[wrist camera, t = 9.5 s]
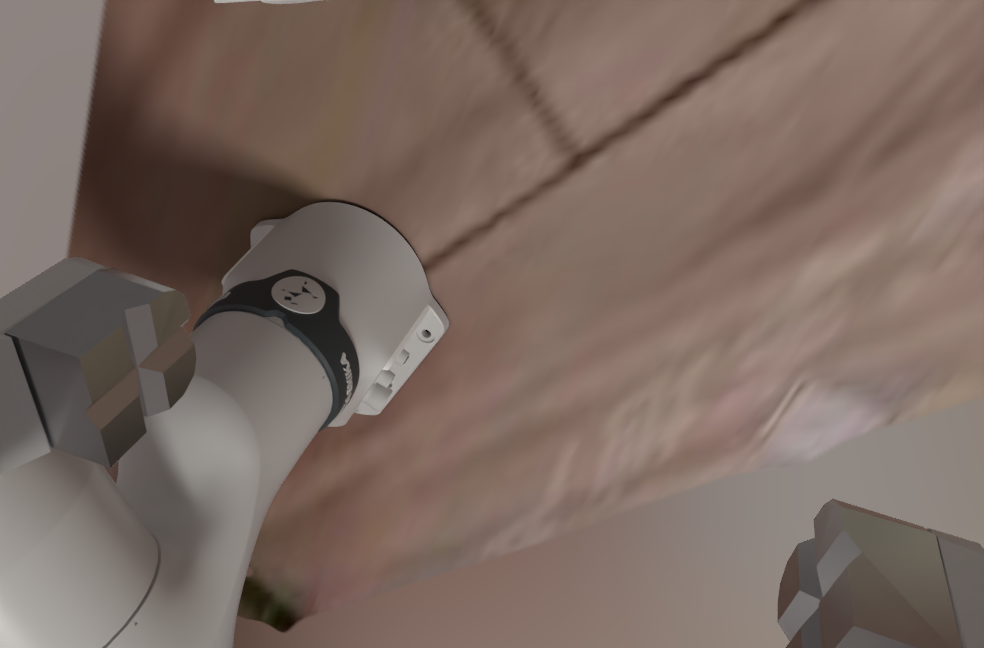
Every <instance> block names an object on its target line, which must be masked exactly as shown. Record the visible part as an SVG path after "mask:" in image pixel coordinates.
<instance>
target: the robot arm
mask: <svg viewBox="0 0 984 648" xmlns="http://www.w3.org/2000/svg"><path fill="white" fill-rule="evenodd" d="M250 240H251V249H250V250H249V251H248V252H247V253H246V254H245V255H244V256H243V257H242V258H241V259H240V260H239V261H238V262H237V263H236V264H235V265H234V266H233V267H232V268H231V269H230V270H229V271H228V272H227V273H226V275H225V276H224V278H223V279H222V285H223V295H222V296H220V297H219V298H217V299H216V300H215V301H214V302H213V303H212V304H211V305H210V306H209V307H208V308H207V309H206V311H205V312H204V314H203V315H202V316H201V317H200V318H199V319H198V321H197V323H196V324H195V326H194V329H193V332H192V333H191V334H189V335H188V334H187V333H186V331H185V330H184V329H183V326H184V324H185V323H186V322H187V321H188V320H189V318H190V312H189V307H188V303H187V298H186V296H185V295H183V294H182V293H180V292H179V291H177V290H175V289H172V288H169V287H166V286H164V285H161V284H158V283H155V282H152V281H149V280H146V279H143V278H141V277H138V276H135V275H132V274H129V273H126V272H123V271H120V270H117V269H115V268H109V267H106V266H103V265H100V264H98V263H95V262H92V261H89V260H86V259H84V258H81V257H76V258H67V259H63V260H62V261H60V262H59V263H57V264H55V265H54V266H52V267H51V268H49V269H47V270H46V271H44V272H42V273H41V274H39V275H38V276H36V277H34V278H33V279H31V280H30V281H28V282H26V283H25V284H23V285H22V286H20V287H18V288H17V289H15V290H14V291H12V292H10V293H9V294H7V295H6V296H4V297H2V298H1V299H0V648H233V638H234V631H235V622H236V617H237V611H238V606H239V601H240V597H241V593H242V589H243V585H244V581H245V577H246V573H247V570H248V566H249V562H250V559H251V556H252V553H253V549H254V546H255V543H256V540H257V537H258V534H259V531H260V529H261V526H262V523H263V521H264V518H265V516H266V513H267V511H268V509H269V507H270V505H271V503H272V501H273V499H274V496H275V495H276V493H277V491H278V490H279V488H280V486H281V485H282V483H283V482H284V480H285V479H286V477H287V476H288V474H289V473H290V471H291V470H292V468H293V467H294V465H295V464H296V462H297V461H298V459H299V458H300V456H301V455H302V453H303V452H304V450H305V449H306V447H307V446H308V445H309V443H310V442H311V440H312V439H313V437H314V436H315V435H316V433H317V432H319V431H321V430H323V429H324V428H325V427H327V426H331V427H337V426H342V425H345V424H346V423H347V421H348V420H349V419H350V417H351V416H352V414H353V413H359V414H365V415H377V414H379V413H380V412H381V411H382V410H383V409H384V408H385V406H386V405H387V404H388V403H389V402H390V400H391V399H392V398H393V397H394V395H395V394H396V393H397V392H398V390H399V389H400V388H401V387H402V385H403V384H404V383H405V382H406V380H407V379H408V378H409V377H410V376H411V374H412V373H413V372H414V371H415V369H416V368H417V367H418V366H419V364H420V363H421V362H422V361H423V359H424V358H425V357H426V356H427V354H428V353H429V352H430V351H431V349H432V348H433V347H434V346H435V344H436V343H437V342H438V341H439V339H440V338H441V337H442V336H443V335H444V333H445V332H446V331H447V329H448V327H449V321H448V318H447V316H446V314H445V313H444V311H443V310H442V308H441V307H440V306H439V304H438V303H437V302H436V300H435V299H434V298H433V296H432V294H431V292H430V289H429V286H428V283H427V279H426V276H425V273H424V270H423V268H422V265H421V263H420V261H419V259H418V257H417V256H416V254H415V252H414V251H413V249H412V248H411V247H410V245H409V244H408V243H407V242H406V240H405V239H404V238H403V237H402V236H401V235H400V234H399V233H398V232H397V231H396V230H395V229H394V228H393V227H391V226H390V225H389V224H388V223H386V222H385V221H383V220H382V219H380V218H379V217H377V216H376V215H374V214H372V213H370V212H368V211H366V210H364V209H361V208H359V207H356V206H352V205H349V204H344V203H338V202H321V203H315V204H311V205H308V206H305V207H303V208H301V209H299V210H298V211H296V212H295V213H293V214H292V215H290V216H288V217H286V218H284V219H271V220H264V221H260V222H259V223H257V224H256V225H255V227H254V228H253V229H252V230H251V234H250ZM426 330H428V331H429V332H430V333H428V332H426ZM118 460H119V471H118V478H117V484H115V482H114V481H113V480H112V478H111V477H110V475H109V474H108V473H107V471H106V470H105V468H104V467H103V465H104V466H107V467H109V468H111V467H112V466H113V465H114V464H115V463H116V462H117V461H118ZM814 531H815V538H813V539H810V540H807V541H804V542H801V543H799V544H798V545H797V546H796V548H795V550H794V552H793V553H792V555H791V557H790V558H789V560H788V562H787V564H786V567H785V571H784V574H783V577H782V580H781V583H780V589H779V597H778V623H779V625H780V626H781V628H782V629H783V631H784V633H785V635H786V636H787V638H788V639H789V641H790V642H789V644H788V645H787V647H786V648H984V549H983V548H982V546H981V545H980V544H979V543H976V542H973V541H969V540H966V539H963V538H959V537H956V536H953V535H950V534H946V533H943V532H940V531H936V530H933V529H926V528H924V527H922V526H919V525H915V524H912V523H909V522H906V521H903V520H899V519H896V518H893V517H890V516H886V515H883V514H880V513H877V512H873V511H870V510H867V509H864V508H861V507H857V506H854V505H851V504H848V503H845V502H841V501H838V500H835V499H832V500H830V501H829V502H828V503H826V504H825V505H824V506H823V507H822V508H821V510H820V511H819V513H818V514H817V516H816V517H815V519H814Z"/></svg>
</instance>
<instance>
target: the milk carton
mask: <svg viewBox="0 0 984 648" xmlns="http://www.w3.org/2000/svg"><path fill="white" fill-rule="evenodd" d="M244 1H259V0H214V2H215V3H228V2H244ZM311 1H320V0H261V2H264V3H272V4H289V3H303V2H311Z"/></svg>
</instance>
